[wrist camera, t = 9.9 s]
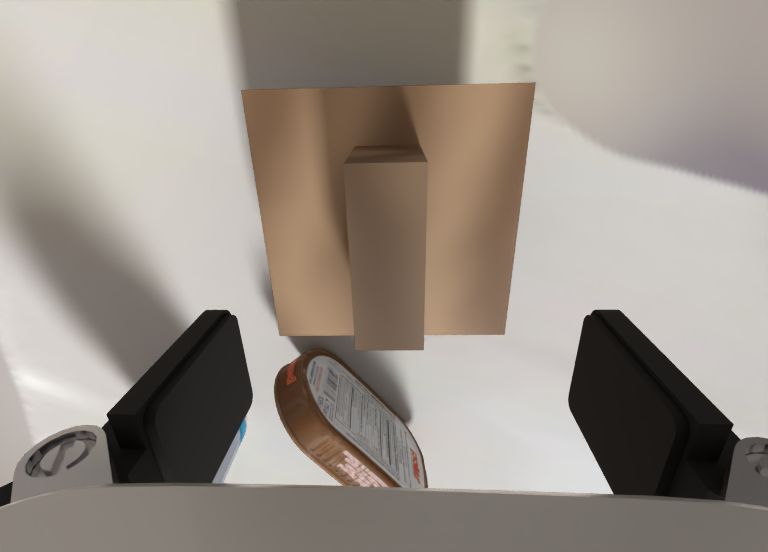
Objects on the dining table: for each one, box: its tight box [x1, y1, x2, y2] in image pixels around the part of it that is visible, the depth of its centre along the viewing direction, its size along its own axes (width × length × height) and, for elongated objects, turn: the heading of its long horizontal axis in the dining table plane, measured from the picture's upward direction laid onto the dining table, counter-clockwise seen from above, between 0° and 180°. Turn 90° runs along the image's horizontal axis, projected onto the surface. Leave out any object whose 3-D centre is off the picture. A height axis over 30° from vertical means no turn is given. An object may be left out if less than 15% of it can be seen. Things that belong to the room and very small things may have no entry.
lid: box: [241, 83, 535, 350], centre depth 19 cm, size 13×13×6 cm
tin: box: [274, 349, 428, 488], centre depth 30 cm, size 15×3×8 cm, turn 39°
